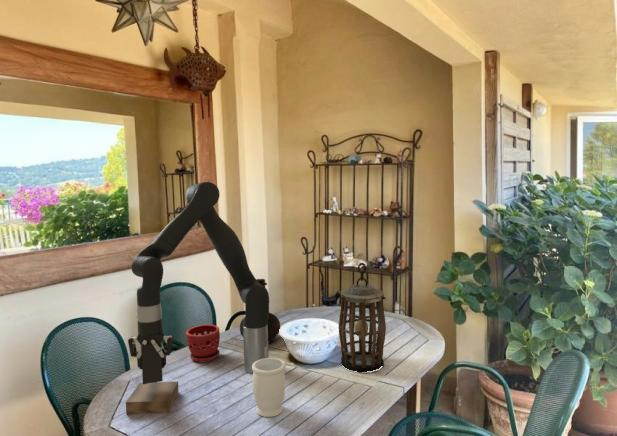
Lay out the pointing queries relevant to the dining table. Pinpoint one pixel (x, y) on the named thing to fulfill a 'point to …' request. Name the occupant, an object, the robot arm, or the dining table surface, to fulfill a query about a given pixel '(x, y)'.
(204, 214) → the robot arm
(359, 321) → the lantern
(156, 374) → the phone stand
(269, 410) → the jar
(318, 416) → the dining table surface
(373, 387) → the dining table surface
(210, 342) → the plant pot
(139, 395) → the walnut plinth
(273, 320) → the black rounded vessel
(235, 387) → the dining table surface
